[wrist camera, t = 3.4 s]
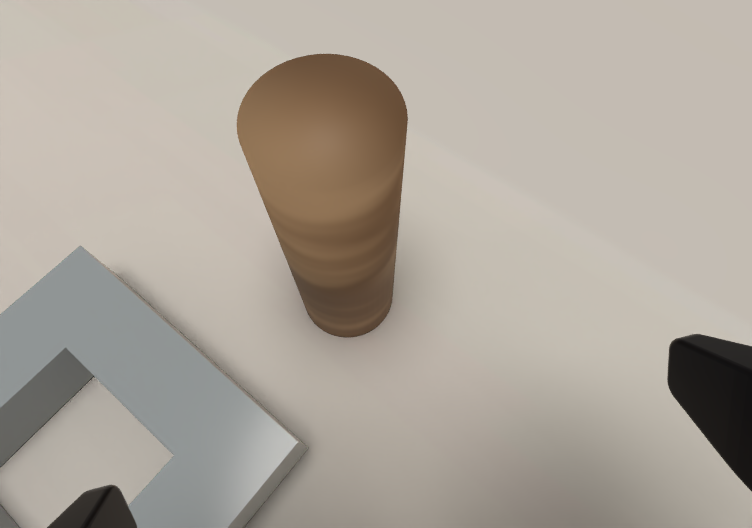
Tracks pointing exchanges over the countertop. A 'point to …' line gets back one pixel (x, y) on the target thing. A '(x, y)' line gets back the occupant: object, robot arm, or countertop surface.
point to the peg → (331, 181)
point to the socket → (140, 395)
